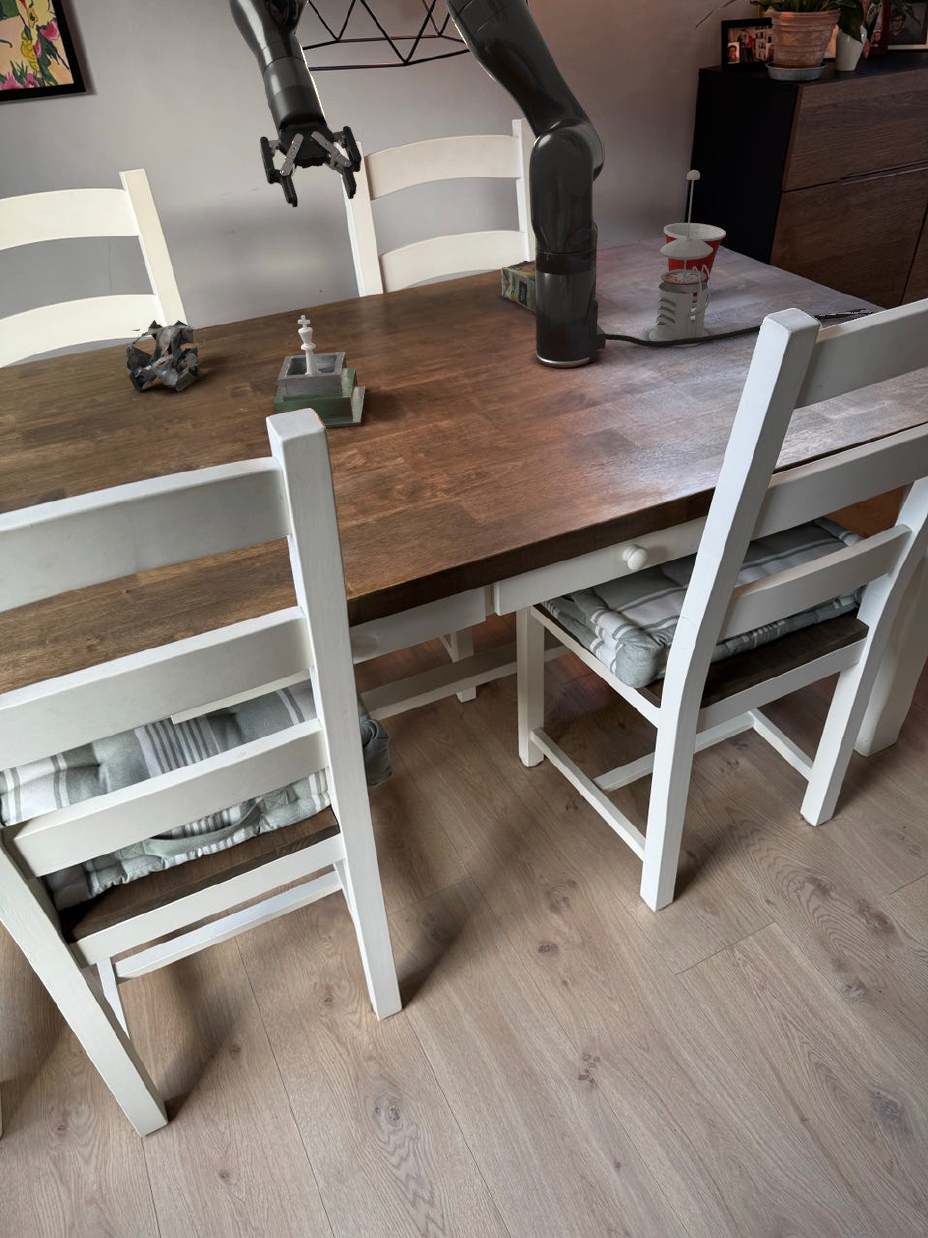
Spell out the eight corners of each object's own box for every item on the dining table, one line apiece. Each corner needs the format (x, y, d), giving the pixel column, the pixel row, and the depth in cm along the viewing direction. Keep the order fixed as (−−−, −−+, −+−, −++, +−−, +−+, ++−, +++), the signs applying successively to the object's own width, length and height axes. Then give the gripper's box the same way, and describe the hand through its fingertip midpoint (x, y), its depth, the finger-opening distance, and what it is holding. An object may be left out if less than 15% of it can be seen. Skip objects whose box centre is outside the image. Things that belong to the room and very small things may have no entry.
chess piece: (325, 391, 123) (313, 321, 117) (293, 390, 124) (280, 321, 118) (336, 377, 127) (325, 309, 121) (305, 377, 128) (292, 309, 122)
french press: (689, 322, 147) (705, 160, 132) (726, 343, 139) (748, 173, 123) (638, 331, 145) (648, 168, 130) (672, 354, 136) (687, 182, 121)
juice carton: (496, 294, 165) (495, 261, 162) (540, 285, 169) (540, 253, 165) (550, 325, 151) (551, 289, 147) (597, 314, 154) (599, 279, 150)
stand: (365, 389, 133) (359, 345, 129) (360, 425, 123) (353, 378, 118) (282, 395, 133) (273, 351, 129) (270, 432, 123) (260, 385, 119)
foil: (99, 369, 138) (148, 295, 140) (147, 409, 147) (193, 339, 149) (140, 381, 131) (191, 303, 134) (188, 422, 140) (235, 348, 143)
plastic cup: (724, 305, 153) (733, 233, 146) (663, 308, 154) (669, 237, 146) (711, 286, 162) (719, 218, 154) (653, 289, 162) (658, 222, 155)
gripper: (245, 88, 123) (275, 190, 121) (341, 77, 126) (372, 175, 124) (248, 126, 130) (276, 222, 128) (339, 114, 133) (368, 208, 131)
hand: (323, 199), depth 126 cm, fingers open, 8 cm apart
